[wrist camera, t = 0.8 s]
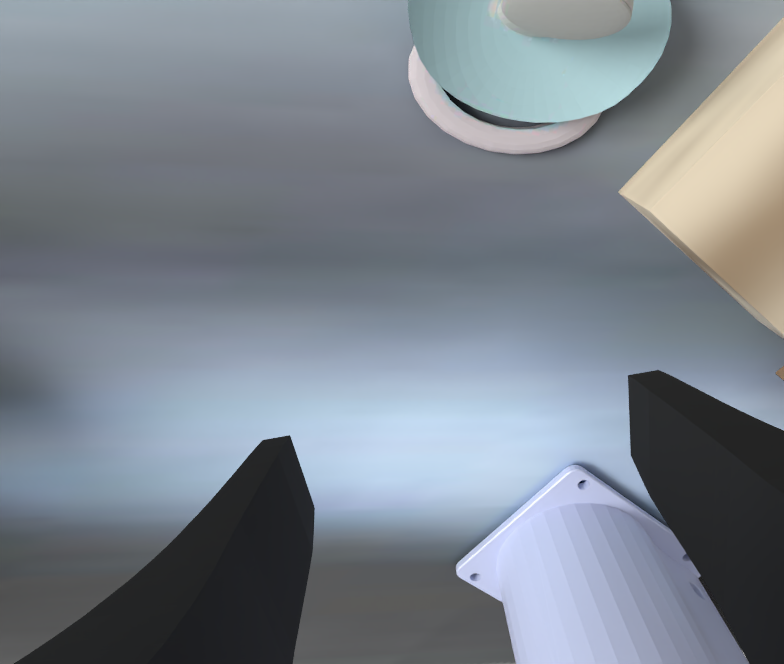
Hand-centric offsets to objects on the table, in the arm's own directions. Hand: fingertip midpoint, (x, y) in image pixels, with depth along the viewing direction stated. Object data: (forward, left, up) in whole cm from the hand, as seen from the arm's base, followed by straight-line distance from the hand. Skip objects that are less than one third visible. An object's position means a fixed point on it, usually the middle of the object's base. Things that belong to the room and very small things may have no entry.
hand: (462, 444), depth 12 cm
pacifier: (+3, -7, -11) cm, 13 cm away
